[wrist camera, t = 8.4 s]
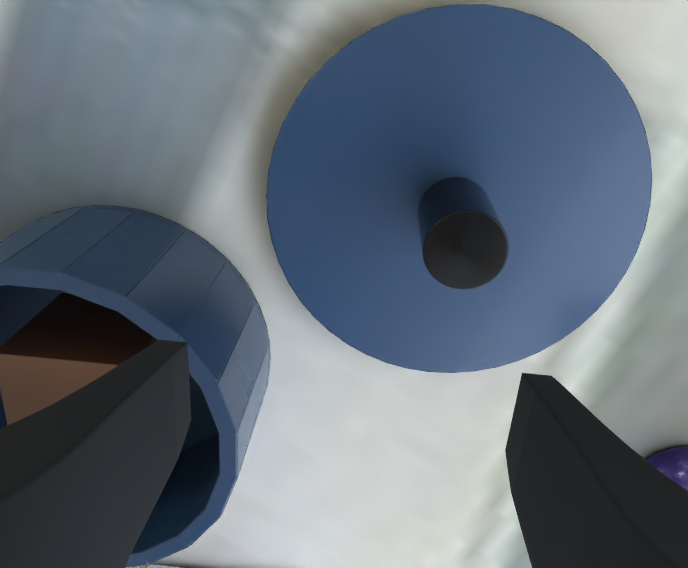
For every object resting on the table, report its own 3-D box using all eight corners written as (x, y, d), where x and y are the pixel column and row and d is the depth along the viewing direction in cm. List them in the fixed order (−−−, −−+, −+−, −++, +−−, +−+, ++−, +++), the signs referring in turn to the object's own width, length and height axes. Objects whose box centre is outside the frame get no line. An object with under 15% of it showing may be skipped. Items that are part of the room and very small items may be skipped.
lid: (590, 372, 24) (634, 452, 20) (268, 341, 24) (242, 414, 20) (688, 20, 19) (775, 26, 15) (275, -11, 19) (243, -15, 15)
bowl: (268, 471, 27) (237, 586, 22) (8, 444, 28) (-84, 551, 22) (273, 219, 22) (236, 288, 17) (-41, 191, 23) (-174, 250, 17)
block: (181, 401, 25) (141, 477, 21) (74, 390, 26) (14, 464, 22) (177, 303, 24) (132, 366, 20) (61, 292, 24) (-8, 352, 20)
